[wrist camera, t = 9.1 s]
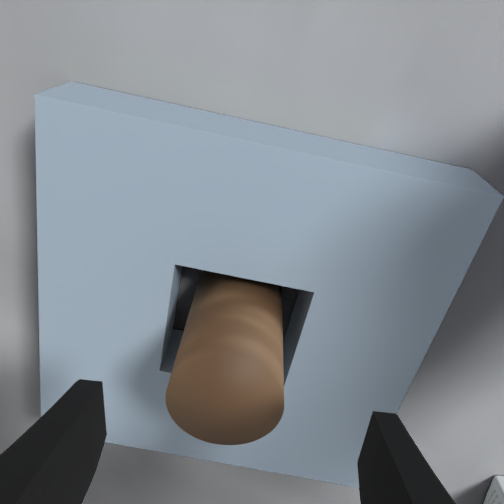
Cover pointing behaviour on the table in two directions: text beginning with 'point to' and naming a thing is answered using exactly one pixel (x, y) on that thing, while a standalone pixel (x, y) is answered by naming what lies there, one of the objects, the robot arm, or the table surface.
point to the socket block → (241, 265)
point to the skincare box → (495, 491)
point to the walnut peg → (229, 362)
